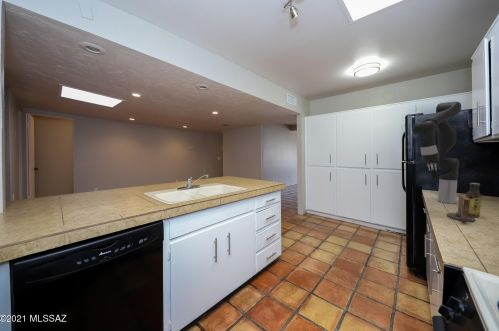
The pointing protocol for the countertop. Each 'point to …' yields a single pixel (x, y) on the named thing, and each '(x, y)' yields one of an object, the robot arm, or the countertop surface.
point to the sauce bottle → (474, 200)
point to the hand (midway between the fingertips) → (434, 178)
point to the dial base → (455, 217)
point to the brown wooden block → (463, 207)
